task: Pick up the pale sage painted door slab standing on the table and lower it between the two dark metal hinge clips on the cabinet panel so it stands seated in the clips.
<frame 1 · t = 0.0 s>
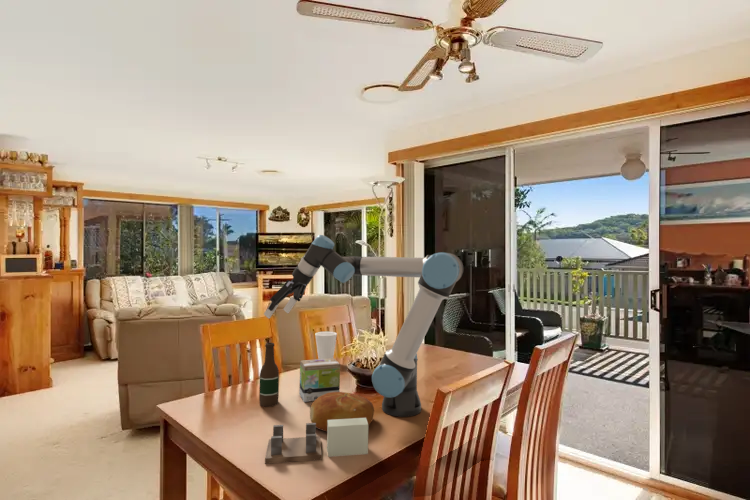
hand: (276, 313, 162), 36 cm above the table, tool tilted 35°, fingers open, 13 cm apart
door: (347, 451, 125), on the table
beer bottle: (269, 403, 163), on the table
bread: (341, 423, 146), on the table
tea box: (319, 397, 171), on the table
hinge panel: (294, 451, 124), on the table
cup: (325, 363, 222), on the table
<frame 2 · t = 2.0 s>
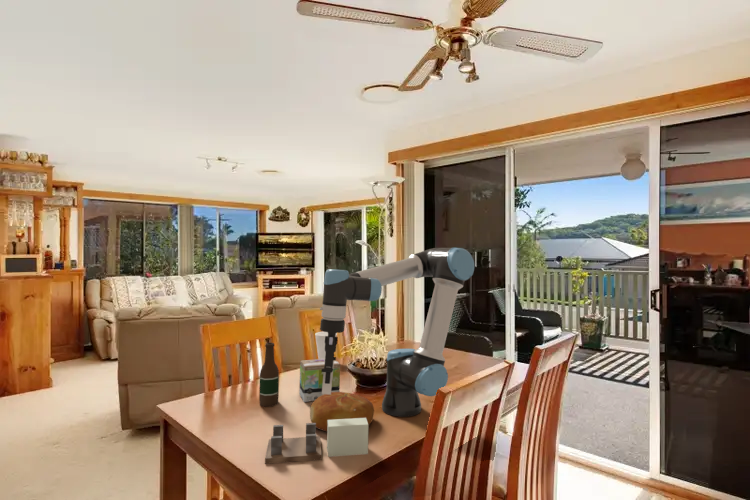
hand: (327, 387, 127), 19 cm above the table, tool pointing down, fingers open, 13 cm apart
nothing on the table moved.
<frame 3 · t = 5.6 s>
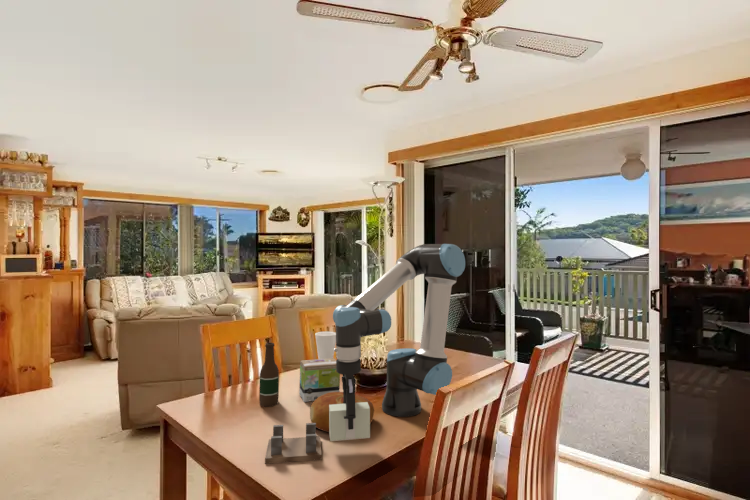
hand: (349, 434, 126), 5 cm above the table, tool pointing down, fingers closed on door, 5 cm apart
door: (349, 435, 126), point 5 cm above the table, touching gripper
everything else where it was.
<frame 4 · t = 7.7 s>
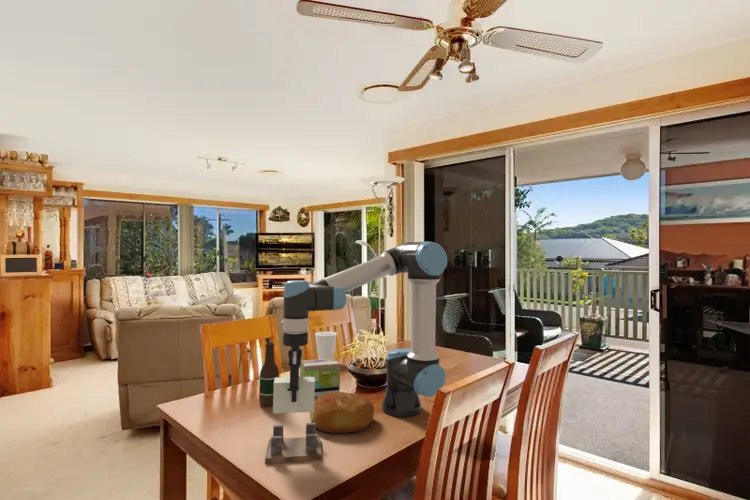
hand: (294, 408, 124), 13 cm above the table, tool pointing down, fingers closed on door, 5 cm apart
door: (293, 409, 124), point 13 cm above the table, touching gripper
everything else where it was.
when the fingers open (2 cm above the table, at t = 9.7 s): door stays where it is, resting on hinge panel.
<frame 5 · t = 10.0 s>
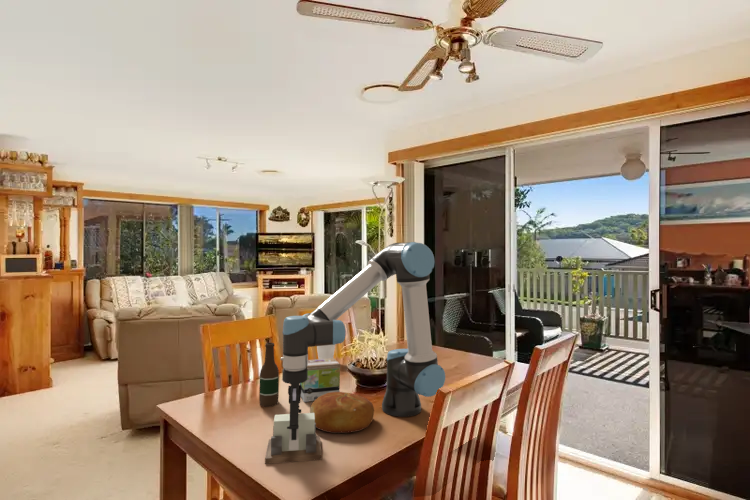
hand: (294, 441, 124), 3 cm above the table, tool pointing down, fingers open, 9 cm apart
door: (294, 446, 124), point 1 cm above the table, touching hinge panel
everything else where it was.
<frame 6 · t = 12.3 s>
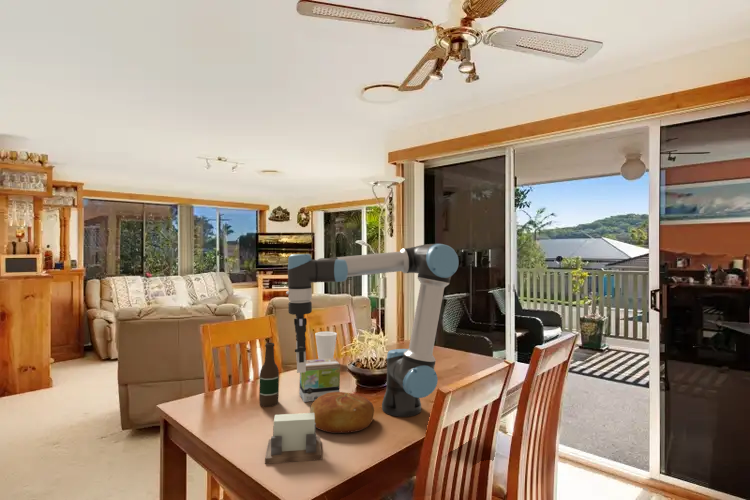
hand: (300, 366, 134), 23 cm above the table, tool pointing down, fingers open, 13 cm apart
nothing on the table moved.
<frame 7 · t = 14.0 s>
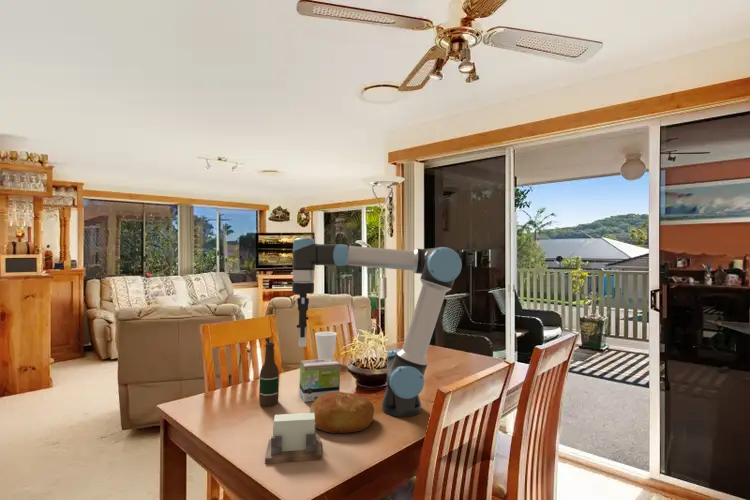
hand: (302, 342, 145), 29 cm above the table, tool pointing down, fingers open, 13 cm apart
nothing on the table moved.
at the end: door 0.0 cm off-centre on the hinge panel, point 1.5 cm above the hinge panel's base; door tilted 0°; the gripper is holding nothing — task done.
